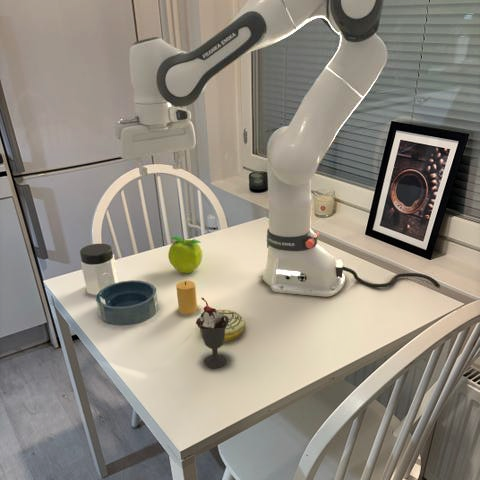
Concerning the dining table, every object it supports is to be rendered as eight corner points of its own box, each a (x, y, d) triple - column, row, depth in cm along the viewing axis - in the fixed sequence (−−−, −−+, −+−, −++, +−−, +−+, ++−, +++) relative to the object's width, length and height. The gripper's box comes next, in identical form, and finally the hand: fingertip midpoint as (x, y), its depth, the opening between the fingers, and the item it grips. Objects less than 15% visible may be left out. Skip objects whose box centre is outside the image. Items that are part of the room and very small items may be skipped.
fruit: (181, 262, 148) (178, 231, 143) (208, 267, 145) (206, 235, 139) (164, 274, 141) (160, 242, 136) (192, 280, 138) (189, 247, 132)
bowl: (169, 304, 126) (167, 286, 124) (135, 332, 115) (132, 313, 112) (124, 293, 132) (121, 276, 129) (87, 319, 121) (83, 301, 118)
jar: (92, 300, 129) (83, 258, 123) (83, 288, 135) (74, 248, 129) (124, 290, 133) (117, 250, 127) (113, 280, 139) (106, 240, 133)
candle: (200, 309, 124) (198, 279, 119) (191, 317, 120) (188, 287, 116) (185, 305, 125) (182, 276, 121) (175, 313, 122) (172, 284, 118)
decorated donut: (248, 321, 118) (248, 307, 116) (240, 346, 109) (239, 332, 107) (206, 318, 120) (205, 304, 118) (194, 342, 111) (193, 328, 109)
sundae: (199, 353, 107) (193, 292, 99) (230, 351, 107) (226, 290, 99) (199, 371, 101) (193, 309, 93) (232, 369, 102) (228, 306, 94)
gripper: (118, 121, 112) (127, 181, 120) (196, 111, 122) (200, 167, 129) (108, 118, 117) (118, 176, 124) (184, 108, 126) (188, 163, 134)
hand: (160, 171), depth 127 cm, fingers open, 8 cm apart
